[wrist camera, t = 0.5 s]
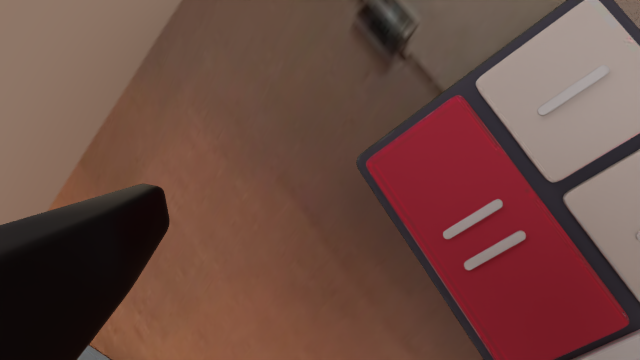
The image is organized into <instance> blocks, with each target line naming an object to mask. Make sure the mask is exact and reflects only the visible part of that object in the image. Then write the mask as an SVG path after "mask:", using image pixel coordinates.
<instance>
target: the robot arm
mask: <svg viewBox="0 0 640 360" xmlns="http://www.w3.org/2000/svg"><path fill="white" fill-rule="evenodd" d="M168 227H169V214H168V209H167V204H166V198H165V194H164V191H163V190H162V188H160V187H158V186H153V185H148V184H139V185H136V186H132V187H129V188H126V189H122V190H119V191H115V192H112V193H109V194H105V195H102V196H98V197H95V198H92V199H88V200H85V201H81V202H78V203H75V204H71V205H68V206H64V207H61V208H58V209H54V210H51V211H47V212H44V213H41V214H37V215H34V216H30V217H27V218H24V219H20V220H17V221H13V222H10V223H7V224H3V225H0V360H77V359H78V358H79V357H80V355H81V354H82V353H83V351H84V350H85V349H86V348H87V346H88V345H89V344H90V342H91V341H92V340H93V338H94V337H95V336H96V335H97V333H98V332H99V331H100V329H101V328H102V327H103V325H104V324H105V323H106V321H107V320H108V319H109V318H110V316H111V315H112V314H113V312H114V311H115V310H116V308H117V307H118V306H119V304H120V303H121V302H122V301H123V299H124V298H125V296H126V295H127V294H128V292H129V291H130V290H131V288H132V287H133V285H134V283H135V282H136V280H137V279H138V277H139V276H140V274H141V272H142V271H143V269H144V268H145V266H146V264H147V263H148V261H149V260H150V258H151V256H152V255H153V253H154V251H155V250H156V248H157V247H158V245H159V243H160V242H161V240H162V239H163V237H164V235H165V234H166V232H167V230H168Z"/></svg>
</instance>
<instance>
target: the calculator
mask: <svg viewBox="0 0 640 360" xmlns="http://www.w3.org/2000/svg"><path fill="white" fill-rule="evenodd" d="M356 163H357V167H358V169H359V171H360V173H361V174H362V176H363V177H364V179H365V180H366V182H367V183H368V185H369V186H370V188H371V189H372V191H373V192H374V194H375V195H376V197H377V198H378V200H379V201H380V203H381V204H382V206H383V207H384V209H385V210H386V212H387V214H388V215H389V217H390V218H391V220H392V221H393V223H394V224H395V226H396V227H397V229H398V230H399V232H400V233H401V235H402V236H403V238H404V239H405V241H406V242H407V244H408V245H409V247H410V248H411V250H412V251H413V253H414V254H415V256H416V257H417V259H418V260H419V262H420V263H421V265H422V266H423V268H424V269H425V271H426V273H427V274H428V276H429V277H430V279H431V280H432V282H433V283H434V285H435V286H436V288H437V289H438V291H439V292H440V294H441V295H442V297H443V298H444V300H445V301H446V303H447V304H448V306H449V307H450V309H451V310H452V312H453V313H454V315H455V316H456V318H457V319H458V321H459V322H460V324H461V325H462V327H463V328H464V330H465V331H466V333H467V335H468V336H469V338H470V339H471V341H472V342H473V344H474V345H475V347H476V348H477V350H478V351H479V353H480V354H481V356H482V357H483V359H484V360H640V29H639V28H638V27H637V26H636V25H635V24H634V23H633V22H632V20H631V19H630V18H629V17H628V16H627V15H626V14H625V13H624V11H623V10H622V9H621V8H620V7H619V6H618V5H617V4H616V2H615V1H614V0H566V1H565V2H564V3H562V4H561V5H560V6H558V7H557V8H555V9H554V10H553V11H551V12H550V13H549V14H547V15H546V16H545V17H543V18H542V19H541V20H539V21H538V22H537V23H535V24H534V25H533V26H531V27H530V28H529V29H527V30H526V31H525V32H523V33H522V34H521V35H519V36H518V37H517V38H515V39H514V40H513V41H511V42H510V43H509V44H507V45H506V46H505V47H503V48H502V49H501V50H499V51H498V52H497V53H495V54H494V55H493V56H491V57H490V58H488V59H487V60H486V61H484V62H483V63H482V64H480V65H479V66H478V67H476V68H475V69H474V70H472V71H471V72H470V73H468V74H467V75H466V76H464V77H463V78H462V79H460V80H459V81H458V82H456V83H455V84H454V85H452V86H451V87H450V88H448V89H447V90H446V91H444V92H443V93H442V94H440V95H439V96H438V97H436V98H435V99H434V100H432V101H431V102H430V103H428V104H427V105H425V106H424V107H423V108H421V109H420V110H419V111H417V112H416V113H415V114H413V115H412V116H411V117H409V118H408V119H407V120H405V121H404V122H403V123H401V124H400V125H399V126H397V127H396V128H395V129H393V130H392V131H391V132H389V133H388V134H387V135H385V136H384V137H383V138H381V139H380V140H379V141H377V142H376V143H375V144H373V145H372V146H371V147H369V148H368V149H367V150H365V151H364V152H363V153H361V154H360V155H359V156H358V158H357V162H356Z"/></svg>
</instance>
